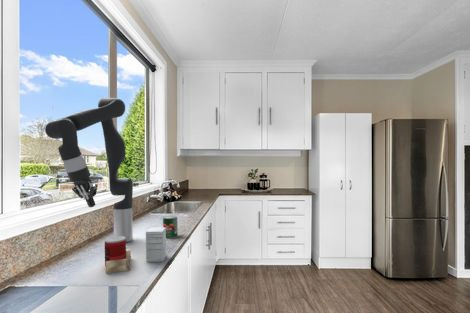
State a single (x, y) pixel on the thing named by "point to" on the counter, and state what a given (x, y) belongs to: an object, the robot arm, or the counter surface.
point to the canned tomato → (170, 226)
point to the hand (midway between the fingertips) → (92, 206)
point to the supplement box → (155, 244)
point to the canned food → (115, 248)
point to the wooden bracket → (119, 264)
